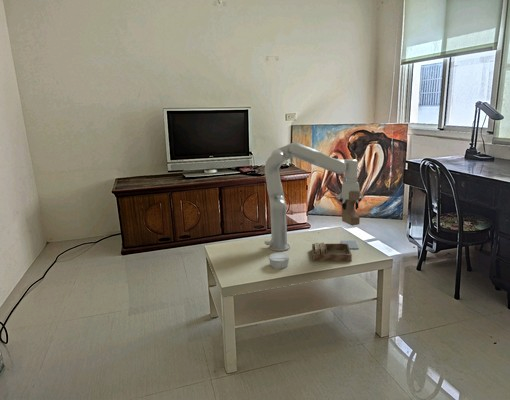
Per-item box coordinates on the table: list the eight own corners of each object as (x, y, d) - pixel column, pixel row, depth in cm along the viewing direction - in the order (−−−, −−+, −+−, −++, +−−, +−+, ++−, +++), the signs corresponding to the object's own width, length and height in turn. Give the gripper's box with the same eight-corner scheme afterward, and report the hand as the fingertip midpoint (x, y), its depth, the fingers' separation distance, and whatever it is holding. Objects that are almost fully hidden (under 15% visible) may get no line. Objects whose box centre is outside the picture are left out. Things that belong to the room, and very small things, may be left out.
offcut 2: (320, 259, 203) (320, 249, 202) (319, 252, 213) (319, 242, 212) (325, 259, 203) (325, 249, 202) (323, 252, 213) (323, 242, 211)
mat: (343, 249, 216) (343, 248, 216) (340, 241, 228) (340, 240, 228) (358, 249, 215) (358, 248, 215) (355, 241, 227) (355, 240, 227)
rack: (313, 261, 201) (313, 254, 200) (312, 249, 217) (312, 243, 216) (351, 261, 198) (351, 254, 197) (347, 249, 214) (347, 243, 213)
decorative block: (359, 224, 214) (360, 191, 209) (351, 225, 212) (351, 192, 207) (349, 219, 224) (349, 188, 219) (341, 221, 222) (341, 189, 218)
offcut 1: (315, 259, 204) (315, 249, 202) (314, 252, 213) (314, 242, 212) (319, 259, 204) (319, 249, 202) (318, 252, 213) (318, 242, 212)
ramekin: (277, 271, 190) (277, 262, 189) (265, 265, 199) (264, 256, 198) (293, 265, 196) (293, 256, 195) (280, 259, 205) (280, 251, 204)
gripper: (336, 181, 209) (336, 211, 213) (366, 181, 207) (366, 210, 211) (335, 179, 216) (334, 207, 221) (364, 178, 214) (363, 207, 219)
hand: (350, 209), depth 216 cm, fingers closed on decorative block, 6 cm apart
